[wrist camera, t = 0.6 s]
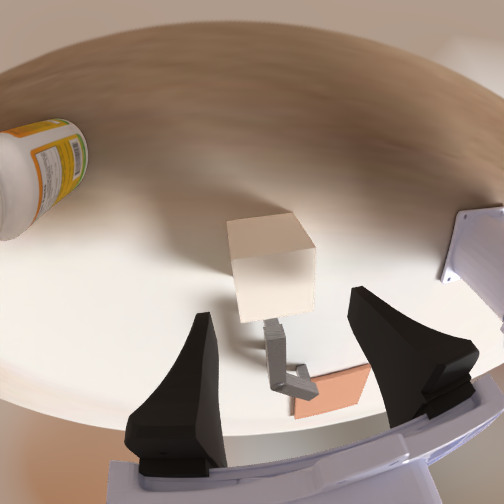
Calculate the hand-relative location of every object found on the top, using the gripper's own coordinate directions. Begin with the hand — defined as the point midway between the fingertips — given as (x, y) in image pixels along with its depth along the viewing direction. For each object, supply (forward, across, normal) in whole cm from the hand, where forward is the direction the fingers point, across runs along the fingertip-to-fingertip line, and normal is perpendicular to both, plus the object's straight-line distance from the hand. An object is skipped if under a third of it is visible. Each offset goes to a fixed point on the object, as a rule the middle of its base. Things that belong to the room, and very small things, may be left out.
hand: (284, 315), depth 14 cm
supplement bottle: (+8, +13, -9) cm, 17 cm away
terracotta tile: (+7, -7, +22) cm, 24 cm away
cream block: (+7, 0, 0) cm, 7 cm away
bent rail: (+7, -2, +11) cm, 13 cm away
